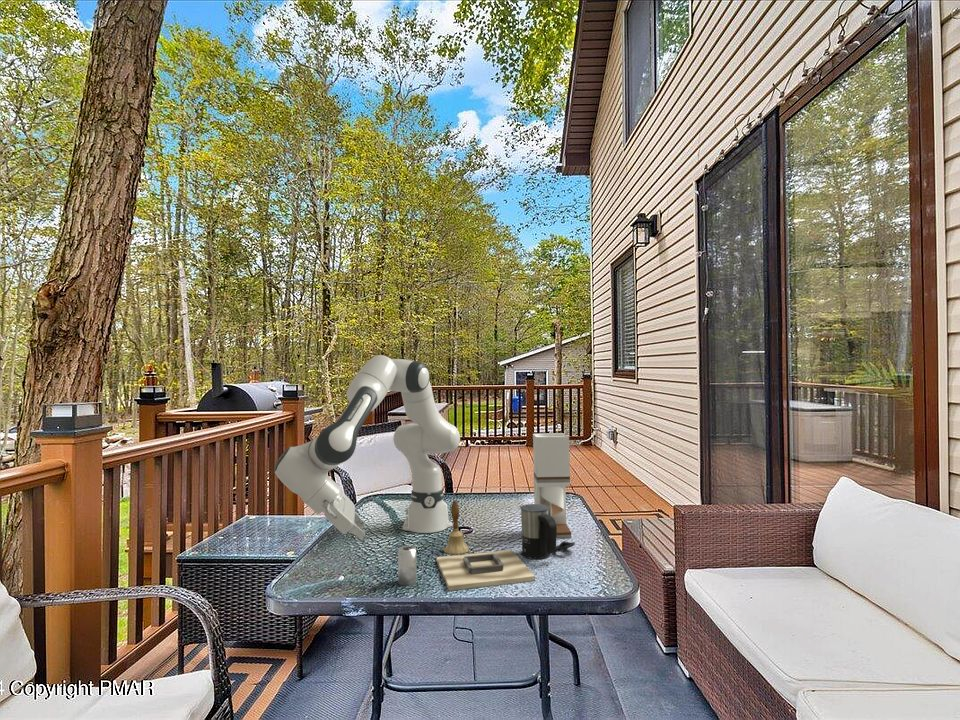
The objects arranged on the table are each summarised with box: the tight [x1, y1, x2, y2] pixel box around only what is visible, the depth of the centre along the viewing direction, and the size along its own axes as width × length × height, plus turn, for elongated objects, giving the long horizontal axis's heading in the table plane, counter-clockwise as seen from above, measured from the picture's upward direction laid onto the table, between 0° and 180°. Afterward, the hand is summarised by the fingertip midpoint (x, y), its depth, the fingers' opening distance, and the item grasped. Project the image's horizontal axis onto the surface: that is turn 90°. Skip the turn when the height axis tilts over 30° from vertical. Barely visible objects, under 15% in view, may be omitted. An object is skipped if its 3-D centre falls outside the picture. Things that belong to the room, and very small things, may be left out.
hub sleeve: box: [397, 545, 418, 586], centre depth 137 cm, size 5×5×9 cm
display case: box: [532, 432, 572, 539], centre depth 178 cm, size 11×11×35 cm
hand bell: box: [443, 500, 470, 556], centre depth 162 cm, size 8×8×16 cm
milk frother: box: [519, 503, 576, 560], centre depth 158 cm, size 14×16×15 cm
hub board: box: [436, 549, 536, 591], centre depth 144 cm, size 22×24×3 cm
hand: (363, 530), depth 135 cm, fingers open, 8 cm apart
